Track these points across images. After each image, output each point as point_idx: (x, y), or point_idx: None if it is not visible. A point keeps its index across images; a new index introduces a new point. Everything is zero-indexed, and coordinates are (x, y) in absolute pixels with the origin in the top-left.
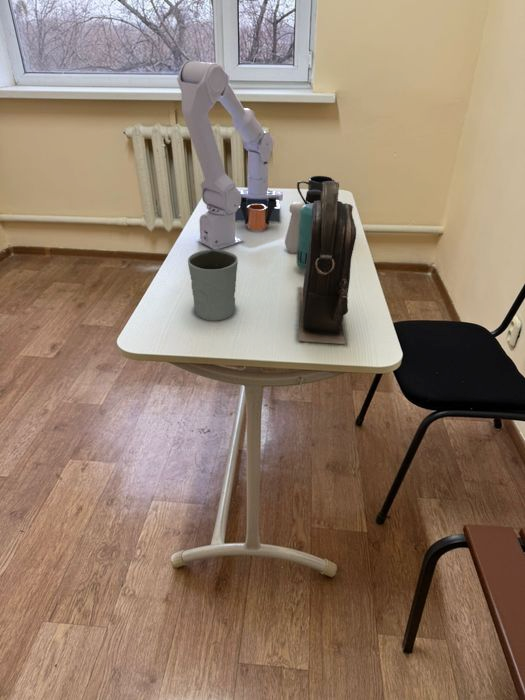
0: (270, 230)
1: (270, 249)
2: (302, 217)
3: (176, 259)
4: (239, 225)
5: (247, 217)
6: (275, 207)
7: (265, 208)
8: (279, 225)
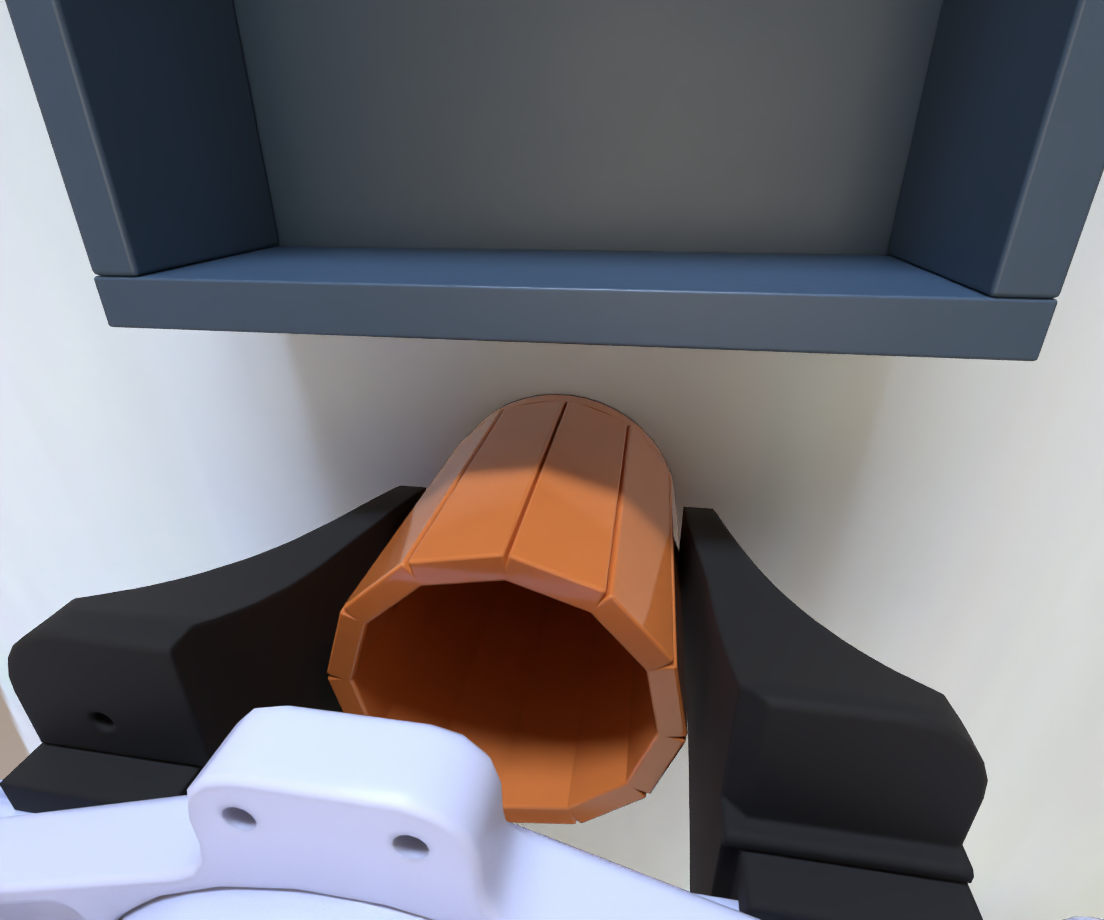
0: None
1: None
2: None
3: None
4: (348, 409)
5: (403, 506)
6: (946, 300)
7: (655, 777)
8: (888, 401)
